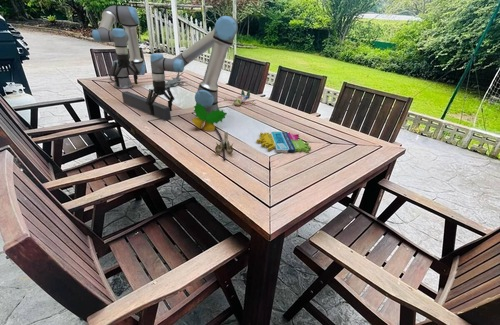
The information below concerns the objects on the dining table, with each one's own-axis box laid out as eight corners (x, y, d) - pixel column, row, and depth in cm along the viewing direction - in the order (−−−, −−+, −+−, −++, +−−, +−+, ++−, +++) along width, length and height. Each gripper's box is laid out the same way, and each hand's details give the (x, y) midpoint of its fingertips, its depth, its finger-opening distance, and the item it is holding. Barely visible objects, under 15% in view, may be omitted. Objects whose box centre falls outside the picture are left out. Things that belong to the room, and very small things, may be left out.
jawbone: (234, 135, 144) (233, 125, 135) (233, 160, 138) (232, 151, 129) (217, 135, 144) (216, 125, 135) (216, 160, 138) (214, 150, 129)
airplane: (153, 81, 261) (151, 71, 256) (184, 80, 275) (183, 70, 270) (160, 92, 233) (159, 80, 228) (195, 89, 246) (194, 78, 241)
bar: (170, 119, 174) (169, 107, 170) (165, 120, 171) (163, 108, 167) (129, 101, 201) (127, 91, 197) (123, 103, 198) (121, 92, 194)
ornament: (218, 133, 171) (224, 110, 169) (221, 134, 163) (227, 111, 161) (186, 125, 162) (192, 101, 160) (189, 126, 155) (195, 101, 153)
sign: (313, 150, 142) (258, 149, 139) (312, 153, 143) (258, 152, 140) (301, 132, 164) (254, 130, 161) (301, 134, 165) (254, 133, 162)
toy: (261, 91, 228) (254, 99, 202) (261, 99, 231) (253, 108, 205) (231, 87, 233) (220, 95, 207) (230, 95, 236) (219, 104, 210)
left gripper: (136, 52, 190) (140, 81, 200) (101, 54, 172) (107, 86, 183) (141, 53, 186) (145, 83, 196) (106, 55, 169) (113, 88, 179)
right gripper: (171, 76, 175) (173, 107, 185) (137, 81, 157) (141, 115, 167) (178, 79, 171) (180, 110, 181) (144, 83, 153) (148, 118, 163)
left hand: (127, 85), depth 190 cm, fingers open, 13 cm apart
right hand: (161, 112), depth 174 cm, fingers open, 13 cm apart
